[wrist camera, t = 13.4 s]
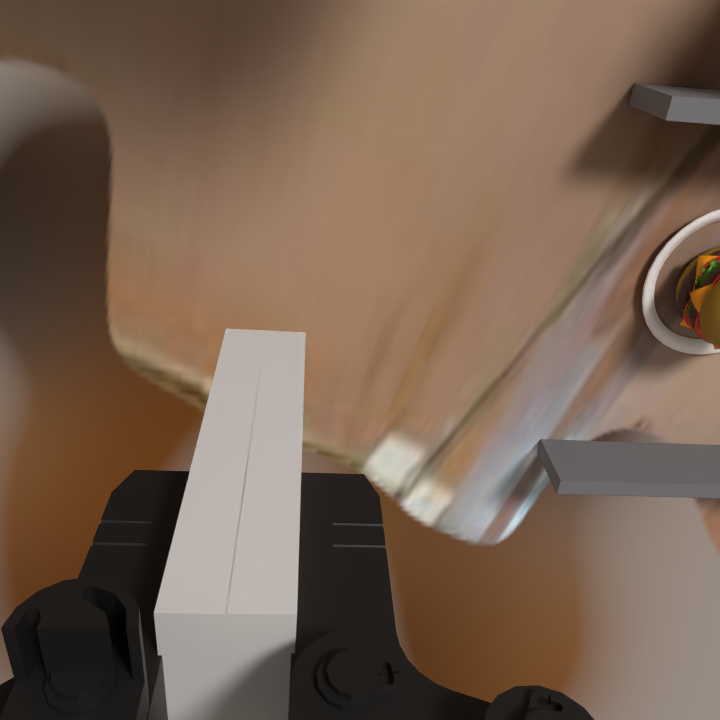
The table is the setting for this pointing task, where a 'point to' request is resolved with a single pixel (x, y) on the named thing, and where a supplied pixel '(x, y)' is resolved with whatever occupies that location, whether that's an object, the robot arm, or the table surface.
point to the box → (643, 460)
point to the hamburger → (689, 295)
